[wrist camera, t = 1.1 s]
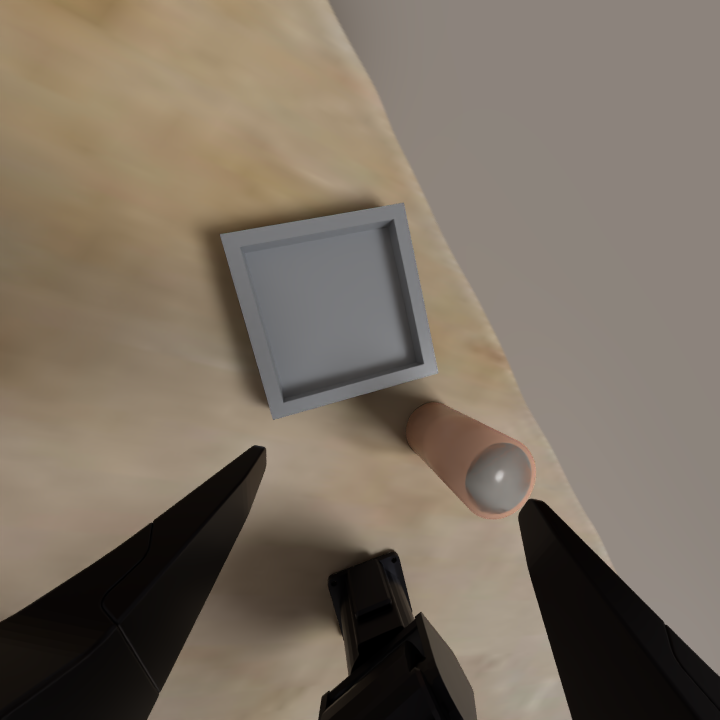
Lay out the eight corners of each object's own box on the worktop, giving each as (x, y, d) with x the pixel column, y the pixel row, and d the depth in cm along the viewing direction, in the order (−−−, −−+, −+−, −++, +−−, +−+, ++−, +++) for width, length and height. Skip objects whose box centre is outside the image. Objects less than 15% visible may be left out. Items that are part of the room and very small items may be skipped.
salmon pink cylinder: (462, 447, 26) (541, 503, 18) (412, 463, 26) (469, 531, 17) (452, 395, 26) (528, 426, 17) (400, 411, 25) (453, 452, 16)
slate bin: (425, 369, 25) (438, 373, 23) (276, 410, 23) (273, 419, 20) (393, 216, 23) (403, 202, 21) (229, 245, 21) (219, 234, 19)
